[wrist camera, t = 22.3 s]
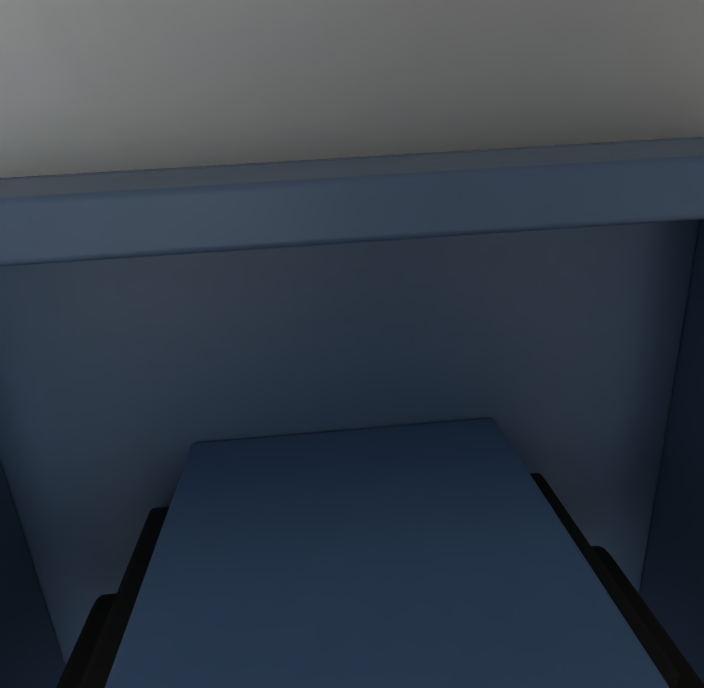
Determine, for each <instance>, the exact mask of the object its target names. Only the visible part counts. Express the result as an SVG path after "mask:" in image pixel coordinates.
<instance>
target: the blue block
mask: <svg viewBox="0 0 704 688" xmlns="http://www.w3.org/2000/svg"><path fill="white" fill-rule="evenodd" d="M105 688H669V686H668V684H667V683H666V681H665V680H664V678H663V677H662V675H661V674H660V672H659V671H658V669H657V668H656V666H655V664H654V663H653V661H652V660H651V658H650V657H649V655H648V654H647V652H646V651H645V649H644V648H643V646H642V645H641V643H640V642H639V640H638V638H637V637H636V635H635V634H634V632H633V631H632V629H631V628H630V626H629V625H628V623H627V622H626V620H625V619H624V617H623V616H622V614H621V613H620V611H619V609H618V608H617V606H616V605H615V603H614V602H613V600H612V599H611V597H610V596H609V594H608V593H607V591H606V590H605V588H604V587H603V585H602V583H601V582H600V580H599V579H598V577H597V576H596V574H595V573H594V571H593V570H592V568H591V567H590V565H589V564H588V562H587V561H586V559H585V557H584V556H583V554H582V553H581V551H580V550H579V548H578V547H577V545H576V544H575V542H574V541H573V539H572V538H571V536H570V535H569V533H568V532H567V530H566V528H565V527H564V525H563V524H562V522H561V521H560V519H559V518H558V516H557V515H556V513H555V512H554V510H553V509H552V507H551V506H550V504H549V502H548V501H547V499H546V498H545V496H544V495H543V493H542V492H541V490H540V489H539V487H538V486H537V484H536V483H535V481H534V480H533V478H532V476H531V475H530V473H529V472H528V470H527V469H526V467H525V466H524V464H523V463H522V461H521V460H520V458H519V457H518V455H517V454H516V452H515V451H514V449H513V447H512V446H511V444H510V443H509V441H508V440H507V438H506V437H505V435H504V434H503V432H502V431H501V429H500V428H499V426H498V425H497V423H496V421H495V420H494V419H491V418H486V419H474V420H463V421H451V422H439V423H427V424H416V425H404V426H392V427H380V428H368V429H357V430H345V431H333V432H321V433H310V434H298V435H286V436H274V437H263V438H251V439H239V440H227V441H215V442H204V443H195V444H193V445H191V448H190V451H189V454H188V456H187V459H186V462H185V465H184V468H183V470H182V473H181V476H180V479H179V482H178V484H177V487H176V490H175V493H174V496H173V498H172V501H171V504H170V507H169V510H168V512H167V515H166V518H165V521H164V524H163V526H162V529H161V532H160V535H159V538H158V540H157V543H156V546H155V549H154V552H153V554H152V557H151V560H150V563H149V566H148V568H147V571H146V574H145V577H144V580H143V582H142V585H141V588H140V591H139V594H138V596H137V599H136V602H135V605H134V607H133V610H132V613H131V616H130V619H129V621H128V624H127V627H126V630H125V633H124V635H123V638H122V641H121V644H120V647H119V649H118V652H117V655H116V658H115V661H114V663H113V666H112V669H111V672H110V675H109V677H108V680H107V683H106V686H105Z"/></svg>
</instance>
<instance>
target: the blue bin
mask: <svg viewBox="0 0 704 688" xmlns="http://www.w3.org/2000/svg"><path fill="white" fill-rule="evenodd" d="M486 418H491V419H494V420H495V421H496V423H497V425H498V426H499V428H500V429H501V431H502V432H503V434H504V435H505V437H506V438H507V440H508V441H509V443H510V444H511V446H512V447H513V449H514V451H515V452H516V454H517V455H518V457H519V458H520V460H521V461H522V463H523V464H524V466H525V467H526V469H527V470H528V472H529V473H540V474H541V475H542V476H543V477H544V479H545V480H546V481H547V483H548V484H549V486H550V487H551V489H552V490H553V492H554V493H555V494H556V496H557V497H558V499H559V500H560V502H561V503H562V505H563V506H564V508H565V509H566V510H567V512H568V513H569V515H570V516H571V518H572V519H573V521H574V522H575V523H576V525H577V526H578V528H579V529H580V531H581V532H582V534H583V535H584V537H585V538H586V539H587V541H588V542H589V544H590V545H591V546H601V547H603V548H605V549H606V550H607V552H608V553H609V554H610V555H611V556H612V557H613V559H614V560H615V562H616V563H617V564H618V566H619V567H620V569H621V570H622V571H623V573H624V574H625V575H626V577H627V578H628V580H629V581H630V582H631V584H632V585H633V587H634V588H635V589H636V591H637V592H638V593H639V595H640V596H641V598H642V599H643V600H644V602H645V603H646V605H647V606H648V607H649V609H650V610H651V611H652V613H653V614H654V616H655V617H656V618H657V620H658V621H659V623H660V624H661V625H662V627H663V628H664V630H665V631H666V632H667V634H668V635H669V636H670V638H671V639H672V641H673V642H674V643H675V645H676V646H677V648H678V649H679V650H680V652H681V653H682V654H683V656H684V657H685V659H686V660H687V661H688V663H689V664H690V666H691V667H692V668H693V670H694V671H695V672H696V674H697V675H698V677H699V678H700V679H701V681H702V682H703V684H704V137H693V138H676V139H659V140H642V141H625V142H608V143H591V144H574V145H557V146H540V147H523V148H506V149H489V150H472V151H455V152H438V153H421V154H404V155H387V156H370V157H353V158H337V159H320V160H303V161H286V162H269V163H252V164H235V165H218V166H201V167H184V168H167V169H150V170H133V171H116V172H99V173H82V174H65V175H48V176H31V177H14V178H0V688H56V687H57V685H58V682H59V680H60V678H61V676H62V673H63V671H64V669H65V667H66V664H67V662H68V660H69V658H70V655H71V653H72V651H73V649H74V646H75V644H76V642H77V640H78V637H79V635H80V633H81V631H82V628H83V626H84V624H85V622H86V619H87V617H88V615H89V613H90V610H91V608H92V606H93V604H94V603H95V601H96V599H97V598H98V597H100V596H101V595H104V594H114V593H117V591H118V588H119V586H120V584H121V581H122V579H123V576H124V574H125V571H126V569H127V566H128V564H129V561H130V559H131V556H132V554H133V551H134V549H135V546H136V544H137V542H138V539H139V537H140V534H141V532H142V529H143V527H144V524H145V522H146V519H147V517H148V514H149V512H150V510H151V509H152V508H157V507H168V506H170V504H171V501H172V498H173V496H174V493H175V490H176V487H177V484H178V482H179V479H180V476H181V473H182V470H183V468H184V465H185V462H186V459H187V456H188V454H189V451H190V448H191V445H193V444H195V443H204V442H215V441H227V440H239V439H251V438H263V437H274V436H286V435H298V434H310V433H321V432H333V431H345V430H357V429H368V428H380V427H392V426H404V425H416V424H427V423H439V422H451V421H463V420H474V419H486Z"/></svg>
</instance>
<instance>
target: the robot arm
mask: <svg viewBox="0 0 704 688" xmlns="http://www.w3.org/2000/svg"><path fill="white" fill-rule="evenodd" d="M530 475H531V476H532V478H533V480H534V481H535V483H536V484H537V486H538V487H539V489H540V490H541V492H542V493H543V495H544V496H545V498H546V499H547V501H548V502H549V504H550V506H551V507H552V509H553V510H554V512H555V513H556V515H557V516H558V518H559V519H560V521H561V522H562V524H563V525H564V527H565V528H566V530H567V532H568V533H569V535H570V536H571V538H572V539H573V541H574V542H575V544H576V545H577V547H578V548H579V550H580V551H581V553H582V554H583V556H584V557H585V559H586V561H587V562H588V564H589V565H590V567H591V568H592V570H593V571H594V573H595V574H596V576H597V577H598V579H599V580H600V582H601V583H602V585H603V587H604V588H605V590H606V591H607V593H608V594H609V596H610V597H611V599H612V600H613V602H614V603H615V605H616V606H617V608H618V609H619V611H620V613H621V614H622V616H623V617H624V619H625V620H626V622H627V623H628V625H629V626H630V628H631V629H632V631H633V632H634V634H635V635H636V637H637V638H638V640H639V642H640V643H641V645H642V646H643V648H644V649H645V651H646V652H647V654H648V655H649V657H650V658H651V660H652V661H653V663H654V664H655V666H656V668H657V669H658V671H659V672H660V674H661V675H662V677H663V678H664V680H665V681H666V683H667V684H668V686H669V688H704V684H703V682H702V681H701V679H700V678H699V677H698V675H697V674H696V672H695V671H694V670H693V668H692V667H691V666H690V664H689V663H688V661H687V660H686V659H685V657H684V656H683V654H682V653H681V652H680V650H679V649H678V648H677V646H676V645H675V643H674V642H673V641H672V639H671V638H670V636H669V635H668V634H667V632H666V631H665V630H664V628H663V627H662V625H661V624H660V623H659V621H658V620H657V618H656V617H655V616H654V614H653V613H652V611H651V610H650V609H649V607H648V606H647V605H646V603H645V602H644V600H643V599H642V598H641V596H640V595H639V593H638V592H637V591H636V589H635V588H634V587H633V585H632V584H631V582H630V581H629V580H628V578H627V577H626V575H625V574H624V573H623V571H622V570H621V569H620V567H619V566H618V564H617V563H616V562H615V560H614V559H613V557H612V556H611V555H610V554H609V553H608V552H607V550H606V549H605V548H603V547H601V546H591V545H590V544H589V542H588V541H587V539H586V538H585V537H584V535H583V534H582V532H581V531H580V529H579V528H578V526H577V525H576V523H575V522H574V521H573V519H572V518H571V516H570V515H569V513H568V512H567V510H566V509H565V508H564V506H563V505H562V503H561V502H560V500H559V499H558V497H557V496H556V494H555V493H554V492H553V490H552V489H551V487H550V486H549V484H548V483H547V481H546V480H545V479H544V477H543V476H542V475H541V474H540V473H530ZM169 507H170V506H168V507H157V508H152V509H151V510H150V512H149V514H148V517H147V519H146V522H145V524H144V527H143V529H142V532H141V534H140V537H139V539H138V542H137V544H136V546H135V549H134V551H133V554H132V556H131V559H130V561H129V564H128V566H127V569H126V571H125V574H124V576H123V579H122V581H121V584H120V586H119V588H118V591H117V593H114V594H104V595H101V596H100V597H98V598H97V599H96V601H95V603H94V604H93V606H92V608H91V610H90V613H89V615H88V617H87V619H86V622H85V624H84V626H83V628H82V631H81V633H80V635H79V637H78V640H77V642H76V644H75V646H74V649H73V651H72V653H71V655H70V658H69V660H68V662H67V664H66V667H65V669H64V671H63V673H62V676H61V678H60V680H59V682H58V685H57V687H56V688H105V686H106V683H107V680H108V677H109V675H110V672H111V669H112V666H113V663H114V661H115V658H116V655H117V652H118V649H119V647H120V644H121V641H122V638H123V635H124V633H125V630H126V627H127V624H128V621H129V619H130V616H131V613H132V610H133V607H134V605H135V602H136V599H137V596H138V594H139V591H140V588H141V585H142V582H143V580H144V577H145V574H146V571H147V568H148V566H149V563H150V560H151V557H152V554H153V552H154V549H155V546H156V543H157V540H158V538H159V535H160V532H161V529H162V526H163V524H164V521H165V518H166V515H167V512H168V510H169Z"/></svg>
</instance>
